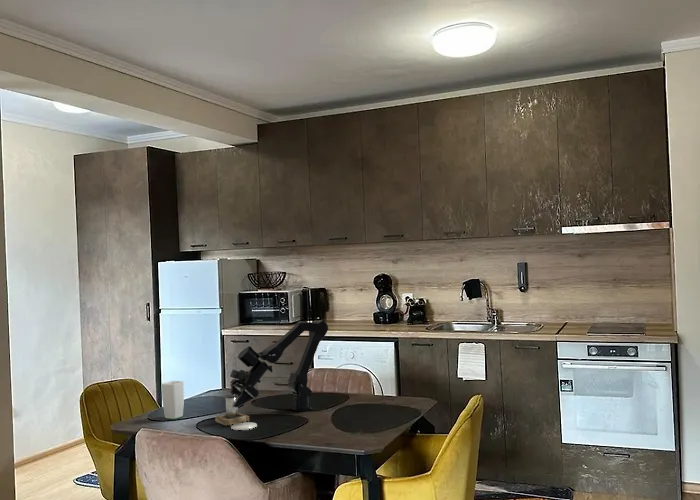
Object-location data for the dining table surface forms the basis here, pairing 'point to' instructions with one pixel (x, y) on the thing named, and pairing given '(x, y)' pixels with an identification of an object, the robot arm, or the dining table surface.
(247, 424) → the disc
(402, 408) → the dining table surface
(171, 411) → the cup
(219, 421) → the oak collar
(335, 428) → the dining table surface
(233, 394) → the glass jar
